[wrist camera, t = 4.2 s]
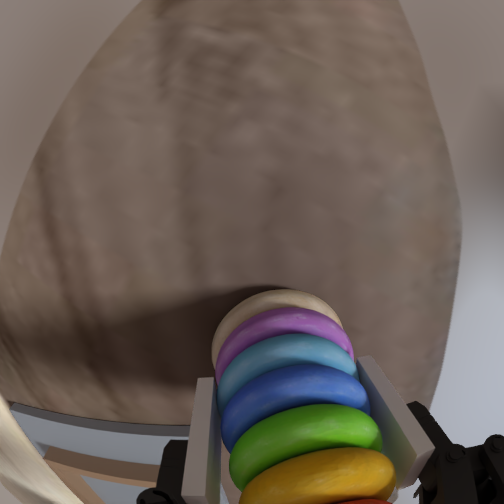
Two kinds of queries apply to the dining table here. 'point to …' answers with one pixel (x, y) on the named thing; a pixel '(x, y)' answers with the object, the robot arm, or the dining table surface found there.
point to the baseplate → (100, 453)
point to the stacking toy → (296, 406)
